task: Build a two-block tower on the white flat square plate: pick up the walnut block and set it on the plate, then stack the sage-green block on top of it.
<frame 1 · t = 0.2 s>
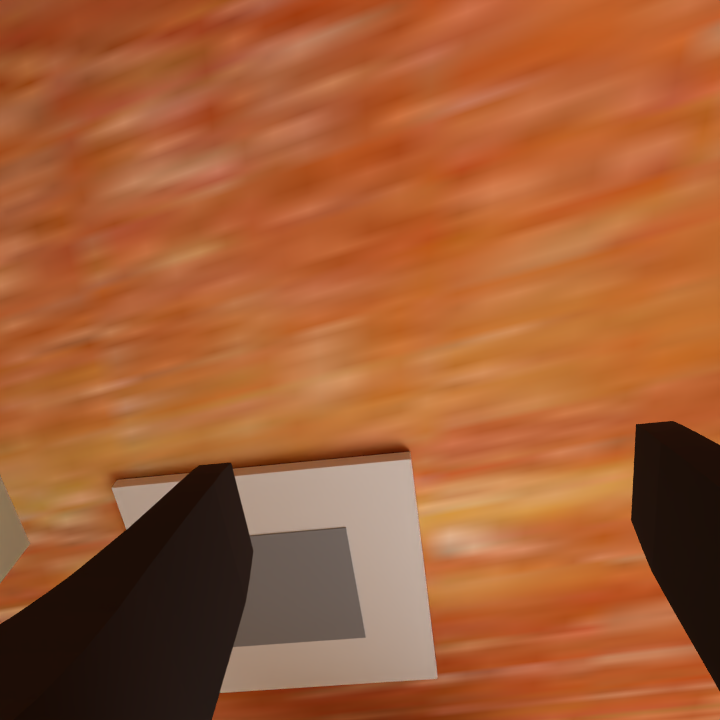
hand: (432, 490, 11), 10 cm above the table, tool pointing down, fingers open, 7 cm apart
white flat square plate: (287, 580, 25), on the table
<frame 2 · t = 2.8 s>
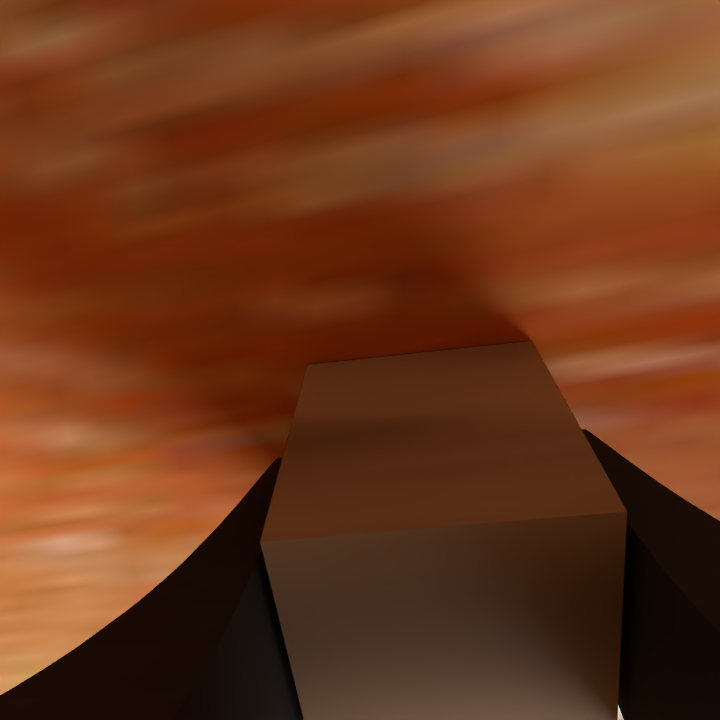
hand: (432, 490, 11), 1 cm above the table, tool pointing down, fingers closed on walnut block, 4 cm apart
walnut block: (427, 448, 13), on the table, touching gripper
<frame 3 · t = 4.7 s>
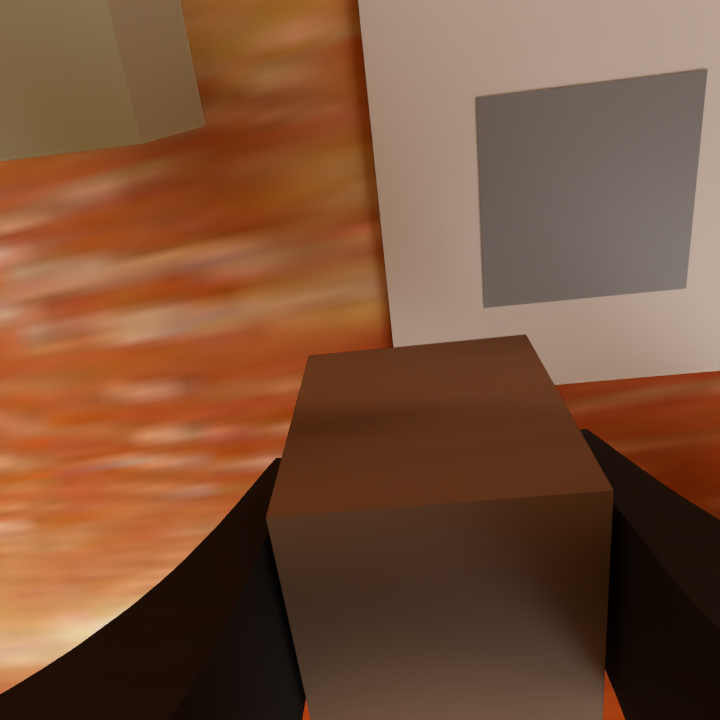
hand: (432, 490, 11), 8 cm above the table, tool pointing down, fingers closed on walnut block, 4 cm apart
white flat square plate: (580, 194, 17), on the table
walnut block: (424, 438, 13), point 7 cm above the table, touching gripper
sage block: (109, 49, 16), on the table
when the fingers open (3 cm above the table, at t = 6.6 s): walnut block stays where it is, resting on white flat square plate.
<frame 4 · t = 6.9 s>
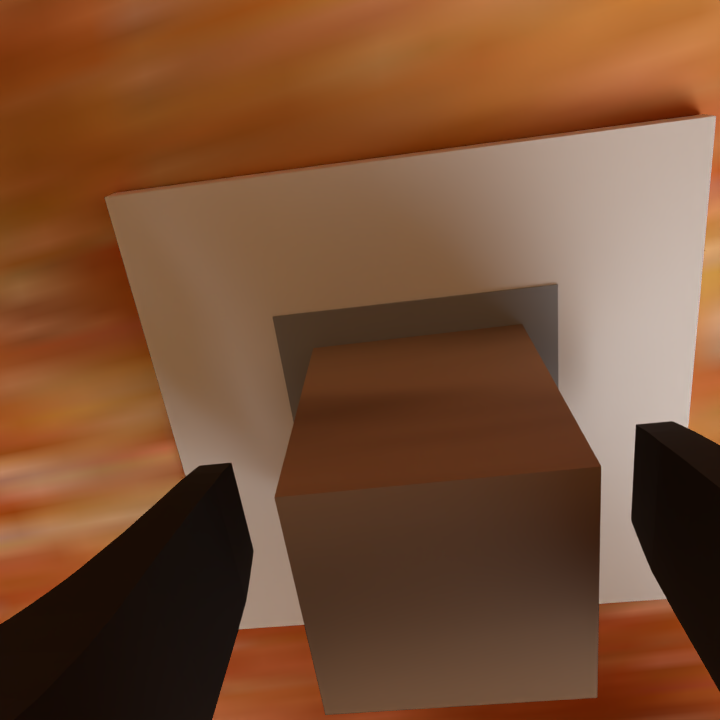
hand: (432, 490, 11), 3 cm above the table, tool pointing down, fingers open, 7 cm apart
white flat square plate: (423, 412, 14), on the table
walnut block: (426, 426, 14), point 1 cm above the table, touching white flat square plate
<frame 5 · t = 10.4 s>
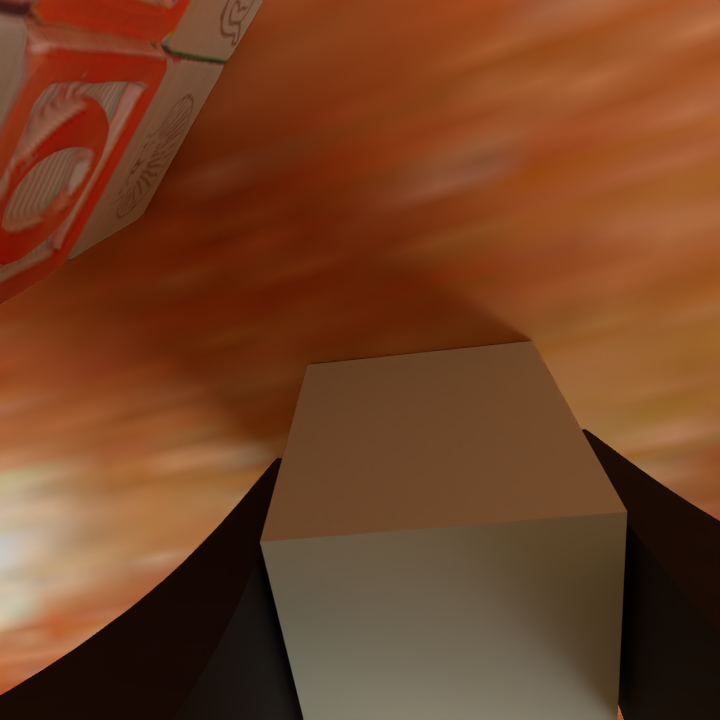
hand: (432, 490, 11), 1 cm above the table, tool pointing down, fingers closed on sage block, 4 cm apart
sage block: (427, 448, 13), on the table, touching gripper
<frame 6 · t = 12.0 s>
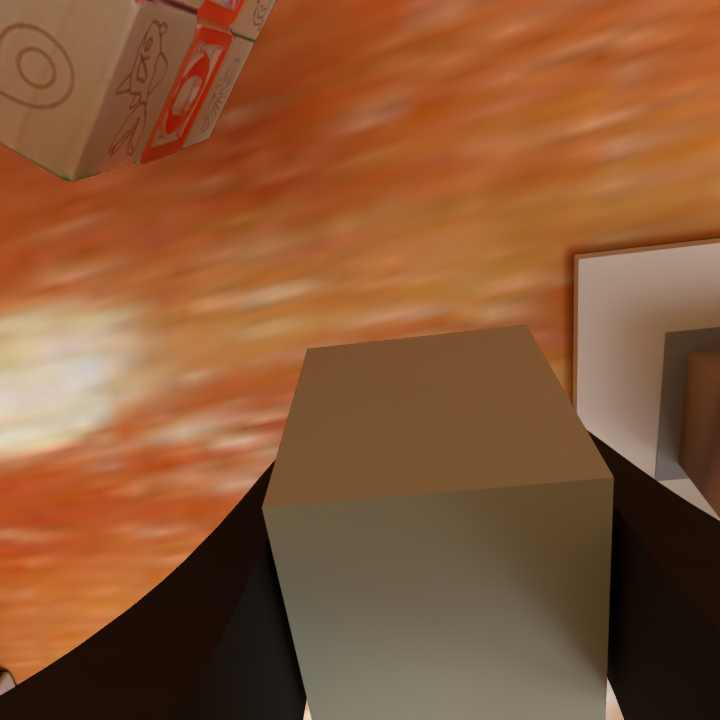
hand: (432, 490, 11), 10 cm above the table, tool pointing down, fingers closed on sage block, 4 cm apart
sage block: (425, 431, 13), point 8 cm above the table, touching gripper
when the fingers open (8 cm above the table, at t = 13.7 s): sage block stays where it is, resting on walnut block.
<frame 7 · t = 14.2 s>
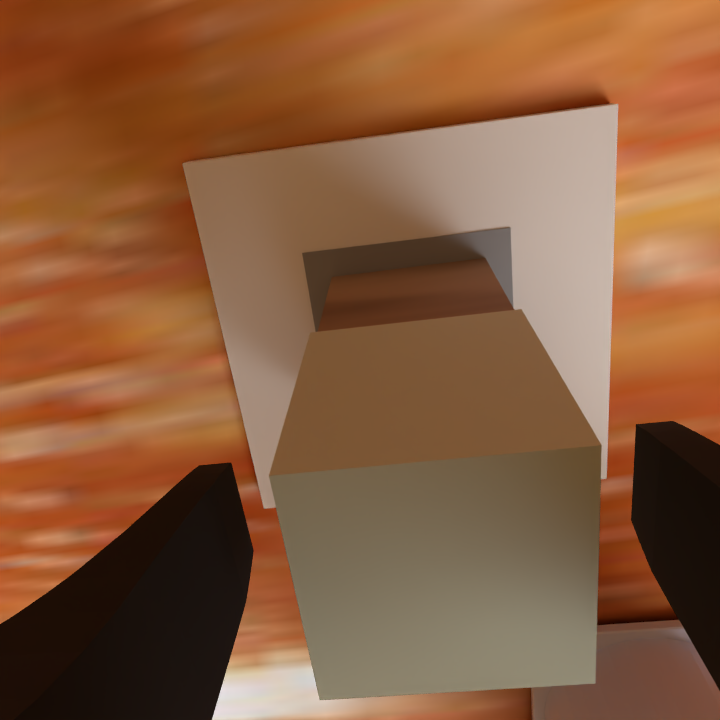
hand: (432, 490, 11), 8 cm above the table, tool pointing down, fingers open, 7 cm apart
white flat square plate: (414, 329, 19), on the table
walnut block: (415, 338, 18), point 1 cm above the table, touching white flat square plate, sage block
sage block: (423, 413, 13), point 6 cm above the table, touching walnut block
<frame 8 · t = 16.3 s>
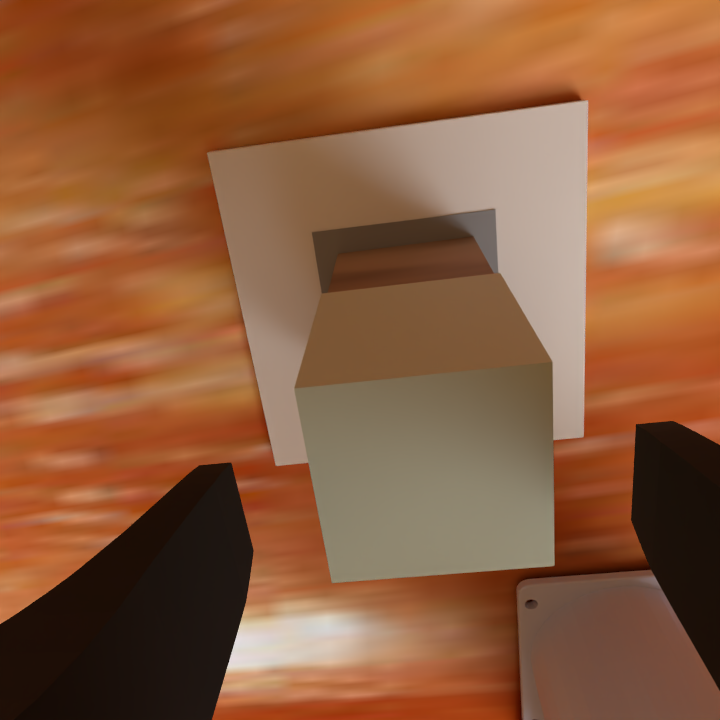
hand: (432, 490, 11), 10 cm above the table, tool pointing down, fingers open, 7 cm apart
white flat square plate: (410, 302, 21), on the table
walnut block: (412, 308, 20), point 1 cm above the table, touching white flat square plate, sage block
sage block: (418, 364, 16), point 6 cm above the table, touching walnut block
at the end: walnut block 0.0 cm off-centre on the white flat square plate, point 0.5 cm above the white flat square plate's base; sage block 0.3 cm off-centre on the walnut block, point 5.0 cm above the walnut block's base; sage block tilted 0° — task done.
